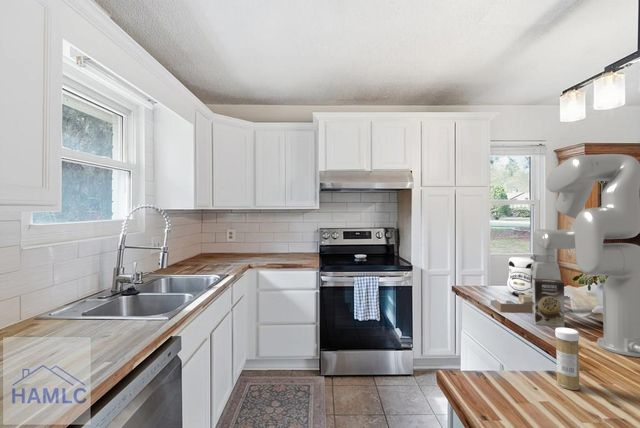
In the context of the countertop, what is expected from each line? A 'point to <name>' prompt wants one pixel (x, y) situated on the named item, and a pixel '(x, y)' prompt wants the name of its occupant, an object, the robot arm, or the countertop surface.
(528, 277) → the milk container
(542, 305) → the cookie box
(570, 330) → the sprinkles bottle
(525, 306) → the trap board
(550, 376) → the countertop surface
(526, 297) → the maple cube
